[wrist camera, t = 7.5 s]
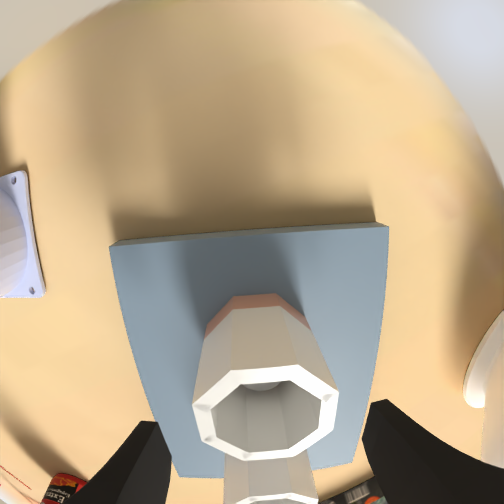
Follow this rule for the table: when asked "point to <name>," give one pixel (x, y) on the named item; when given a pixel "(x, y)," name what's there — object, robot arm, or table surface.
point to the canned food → (62, 488)
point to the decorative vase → (489, 391)
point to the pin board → (252, 283)
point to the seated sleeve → (269, 481)
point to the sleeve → (262, 381)
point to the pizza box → (360, 494)
